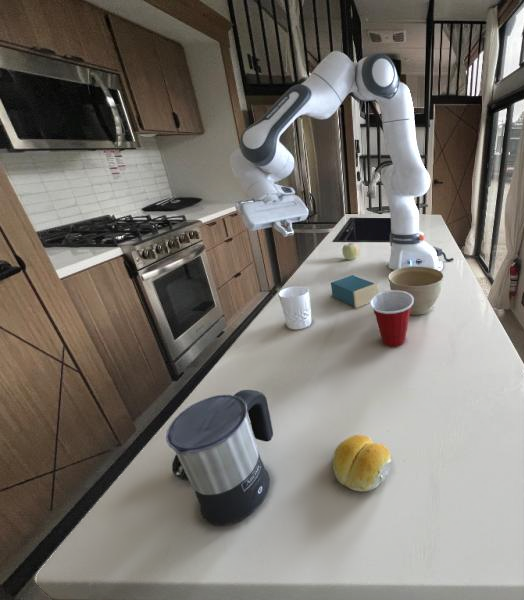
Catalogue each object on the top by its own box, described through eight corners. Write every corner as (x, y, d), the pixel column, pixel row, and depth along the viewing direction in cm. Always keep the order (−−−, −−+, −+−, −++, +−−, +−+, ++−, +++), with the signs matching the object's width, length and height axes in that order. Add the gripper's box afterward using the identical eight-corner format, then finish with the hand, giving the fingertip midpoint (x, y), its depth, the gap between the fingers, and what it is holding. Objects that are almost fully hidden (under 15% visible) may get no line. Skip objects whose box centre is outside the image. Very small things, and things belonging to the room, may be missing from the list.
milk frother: (258, 525, 43) (231, 447, 37) (135, 536, 42) (85, 458, 36) (284, 438, 56) (267, 369, 50) (190, 445, 55) (160, 376, 49)
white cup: (319, 319, 94) (314, 287, 90) (303, 332, 88) (297, 299, 83) (296, 315, 97) (290, 284, 92) (279, 328, 90) (272, 295, 86)
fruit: (358, 261, 140) (357, 243, 137) (342, 261, 140) (340, 243, 137) (361, 255, 147) (359, 238, 144) (344, 256, 147) (343, 238, 144)
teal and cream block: (330, 282, 106) (354, 292, 98) (352, 274, 112) (377, 283, 104) (332, 296, 108) (356, 308, 100) (354, 288, 114) (378, 298, 106)
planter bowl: (419, 292, 109) (419, 262, 105) (453, 310, 98) (455, 276, 93) (379, 306, 101) (377, 273, 96) (411, 327, 89) (410, 291, 84)
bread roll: (355, 436, 56) (353, 419, 54) (398, 461, 52) (398, 443, 50) (321, 473, 50) (317, 455, 48) (366, 504, 45) (364, 486, 44)
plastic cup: (363, 344, 82) (359, 301, 77) (389, 326, 90) (388, 286, 85) (396, 358, 76) (395, 314, 71) (422, 338, 84) (422, 296, 79)
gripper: (234, 195, 89) (260, 236, 88) (297, 187, 103) (320, 222, 102) (230, 209, 94) (254, 248, 92) (291, 200, 108) (312, 234, 107)
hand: (289, 234), depth 98 cm, fingers closed
